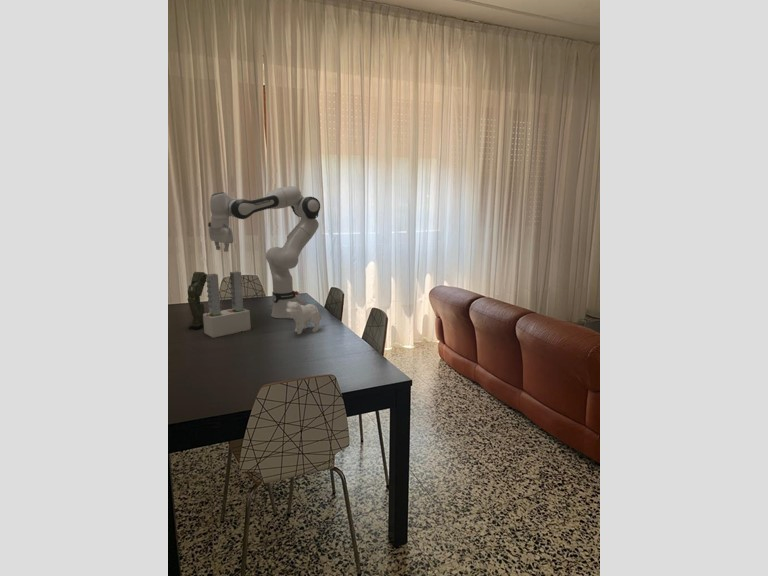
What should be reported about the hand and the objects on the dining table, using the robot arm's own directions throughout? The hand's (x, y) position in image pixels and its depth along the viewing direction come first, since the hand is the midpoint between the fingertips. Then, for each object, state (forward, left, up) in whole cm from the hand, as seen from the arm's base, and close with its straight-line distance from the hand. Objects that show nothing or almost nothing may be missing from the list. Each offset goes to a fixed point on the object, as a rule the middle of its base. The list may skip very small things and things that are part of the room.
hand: (222, 250), depth 233 cm
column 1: (+13, +16, -31) cm, 37 cm away
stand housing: (+7, +16, -39) cm, 43 cm away
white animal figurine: (-23, +42, -40) cm, 62 cm away
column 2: (+1, +16, -32) cm, 35 cm away
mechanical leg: (+14, -2, -39) cm, 42 cm away
